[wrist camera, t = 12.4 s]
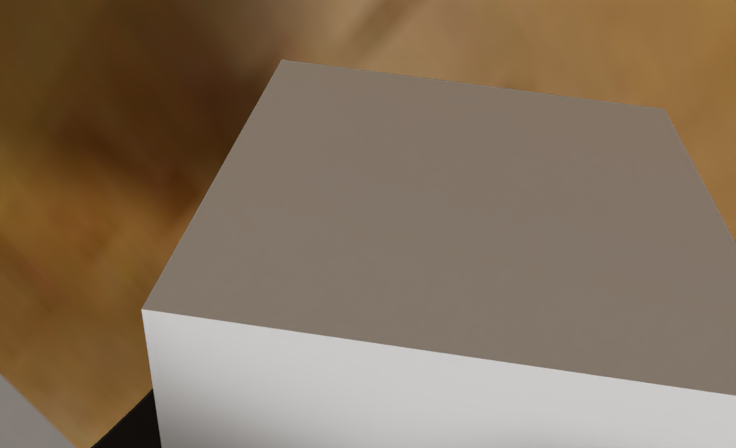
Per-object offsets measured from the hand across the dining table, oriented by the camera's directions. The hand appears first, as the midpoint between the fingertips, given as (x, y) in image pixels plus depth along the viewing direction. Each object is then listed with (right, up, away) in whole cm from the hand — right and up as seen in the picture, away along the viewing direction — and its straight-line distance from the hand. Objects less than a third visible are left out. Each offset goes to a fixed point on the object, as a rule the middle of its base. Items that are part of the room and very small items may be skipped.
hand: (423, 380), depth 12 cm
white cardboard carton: (0, +1, +2) cm, 2 cm away
